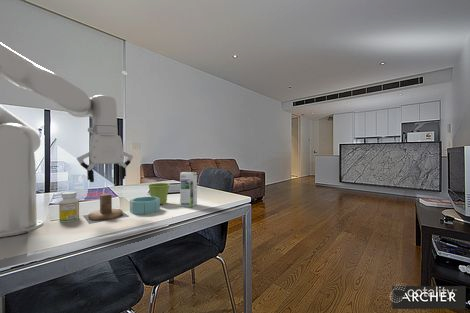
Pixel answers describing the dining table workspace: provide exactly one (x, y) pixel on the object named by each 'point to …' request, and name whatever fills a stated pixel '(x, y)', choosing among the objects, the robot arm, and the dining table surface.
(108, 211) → the lid
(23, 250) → the dining table surface
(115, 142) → the robot arm
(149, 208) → the bowl
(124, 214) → the mat
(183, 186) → the syrup box
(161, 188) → the plant pot
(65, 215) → the supplement bottle
